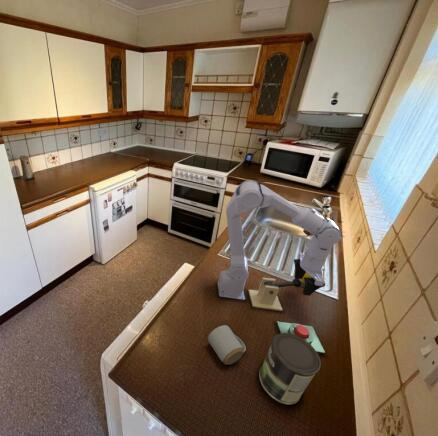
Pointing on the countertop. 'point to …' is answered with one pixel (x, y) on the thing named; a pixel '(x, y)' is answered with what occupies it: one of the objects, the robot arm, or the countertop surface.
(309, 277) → the lemon
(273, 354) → the coffee can
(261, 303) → the lever bracket
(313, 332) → the control block
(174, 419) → the countertop surface
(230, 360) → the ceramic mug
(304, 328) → the button
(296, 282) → the press lever
